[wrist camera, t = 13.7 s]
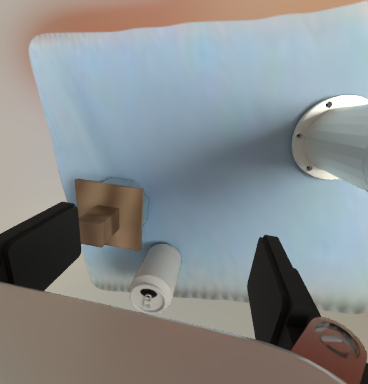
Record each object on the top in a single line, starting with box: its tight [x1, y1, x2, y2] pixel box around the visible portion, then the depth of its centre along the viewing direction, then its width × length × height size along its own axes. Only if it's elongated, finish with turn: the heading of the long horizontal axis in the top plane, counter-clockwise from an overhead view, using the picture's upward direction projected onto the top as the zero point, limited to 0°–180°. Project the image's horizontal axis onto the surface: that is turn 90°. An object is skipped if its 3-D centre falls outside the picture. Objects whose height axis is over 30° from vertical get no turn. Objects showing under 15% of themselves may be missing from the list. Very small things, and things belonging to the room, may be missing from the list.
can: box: [130, 244, 182, 315], centre depth 40 cm, size 8×8×12 cm
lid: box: [75, 179, 144, 251], centre depth 35 cm, size 12×12×7 cm
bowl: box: [103, 177, 149, 227], centre depth 40 cm, size 11×11×5 cm
